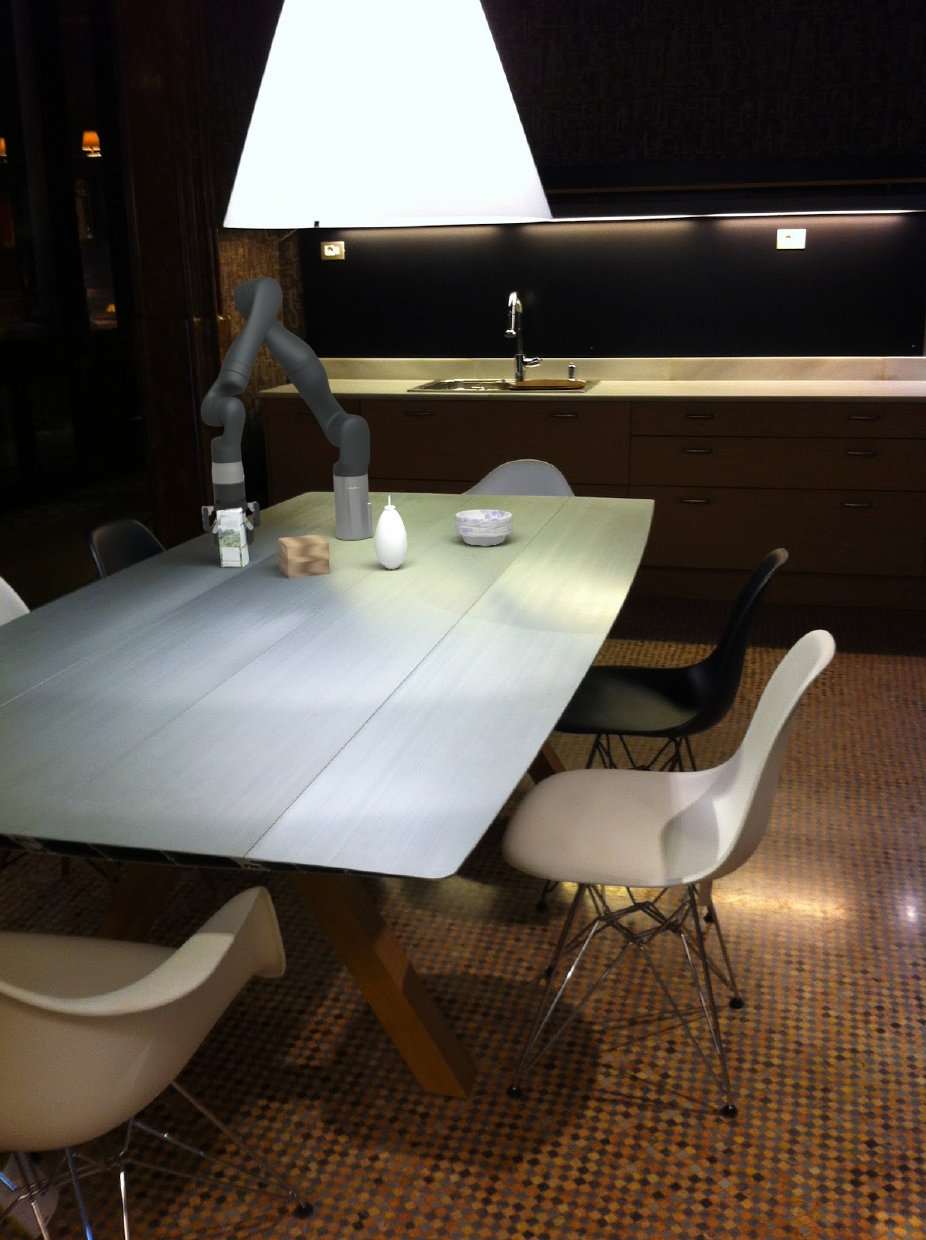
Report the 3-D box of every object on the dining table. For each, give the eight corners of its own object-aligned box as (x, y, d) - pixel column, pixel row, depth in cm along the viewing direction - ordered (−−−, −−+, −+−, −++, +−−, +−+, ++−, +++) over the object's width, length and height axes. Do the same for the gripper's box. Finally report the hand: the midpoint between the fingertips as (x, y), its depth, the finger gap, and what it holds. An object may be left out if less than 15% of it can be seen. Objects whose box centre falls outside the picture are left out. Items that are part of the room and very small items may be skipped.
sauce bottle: (403, 572, 277) (400, 498, 272) (372, 572, 279) (368, 497, 274) (411, 565, 284) (409, 492, 279) (380, 564, 286) (377, 492, 281)
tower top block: (319, 550, 286) (318, 534, 285) (329, 559, 277) (328, 542, 276) (279, 554, 282) (278, 538, 281) (288, 563, 273) (287, 546, 272)
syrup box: (249, 562, 291) (245, 505, 287) (243, 568, 285) (238, 510, 281) (227, 562, 291) (222, 505, 287) (220, 568, 286) (215, 510, 282)
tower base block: (318, 566, 287) (317, 550, 286) (329, 575, 278) (328, 558, 277) (279, 570, 283) (278, 554, 282) (288, 579, 274) (287, 563, 273)
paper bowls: (514, 536, 313) (514, 507, 311) (511, 549, 299) (510, 519, 296) (458, 536, 315) (457, 507, 312) (452, 549, 300) (451, 519, 298)
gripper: (254, 475, 288) (258, 540, 293) (196, 480, 283) (201, 545, 288) (260, 479, 281) (265, 546, 286) (201, 484, 276) (207, 552, 281)
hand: (233, 545), depth 287 cm, fingers closed on syrup box, 7 cm apart
